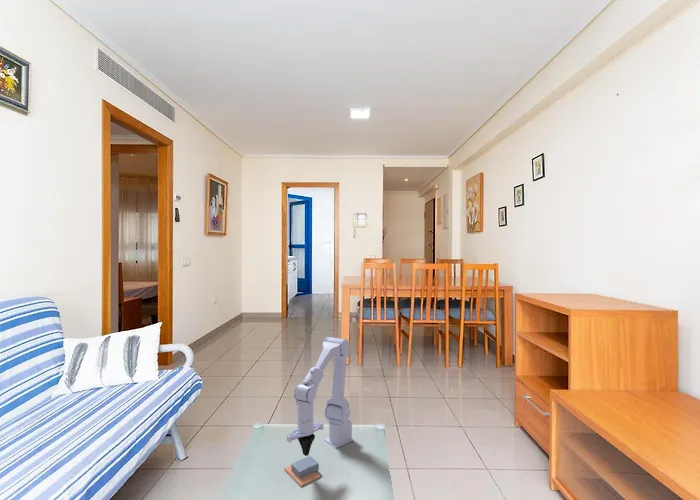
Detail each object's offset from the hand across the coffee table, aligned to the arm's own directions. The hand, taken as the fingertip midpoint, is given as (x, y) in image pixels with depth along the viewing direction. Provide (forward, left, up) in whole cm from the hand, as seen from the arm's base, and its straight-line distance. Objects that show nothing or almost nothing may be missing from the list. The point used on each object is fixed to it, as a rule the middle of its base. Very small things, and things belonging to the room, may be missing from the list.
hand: (305, 454), depth 132 cm
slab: (-4, 0, -5) cm, 6 cm away
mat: (+2, 0, -6) cm, 7 cm away
